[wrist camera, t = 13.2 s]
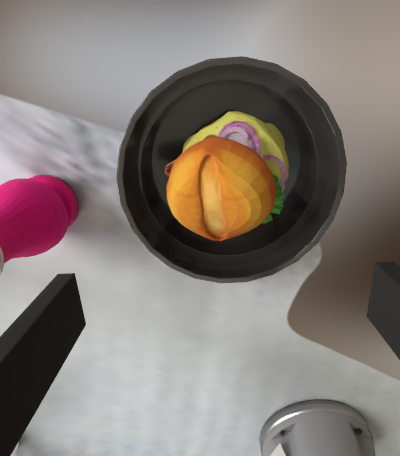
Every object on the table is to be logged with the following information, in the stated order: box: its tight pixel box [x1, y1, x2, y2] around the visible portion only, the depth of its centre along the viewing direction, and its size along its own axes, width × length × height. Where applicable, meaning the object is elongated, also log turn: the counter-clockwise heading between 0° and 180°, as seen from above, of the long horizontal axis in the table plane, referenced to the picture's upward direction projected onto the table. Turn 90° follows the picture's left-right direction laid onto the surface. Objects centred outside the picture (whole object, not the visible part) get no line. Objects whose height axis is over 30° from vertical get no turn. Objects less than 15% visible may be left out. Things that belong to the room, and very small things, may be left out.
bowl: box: [117, 57, 347, 283], centre depth 29 cm, size 19×19×6 cm
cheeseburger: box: [165, 111, 289, 241], centre depth 28 cm, size 10×11×10 cm
